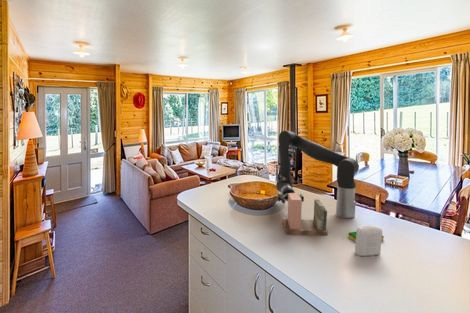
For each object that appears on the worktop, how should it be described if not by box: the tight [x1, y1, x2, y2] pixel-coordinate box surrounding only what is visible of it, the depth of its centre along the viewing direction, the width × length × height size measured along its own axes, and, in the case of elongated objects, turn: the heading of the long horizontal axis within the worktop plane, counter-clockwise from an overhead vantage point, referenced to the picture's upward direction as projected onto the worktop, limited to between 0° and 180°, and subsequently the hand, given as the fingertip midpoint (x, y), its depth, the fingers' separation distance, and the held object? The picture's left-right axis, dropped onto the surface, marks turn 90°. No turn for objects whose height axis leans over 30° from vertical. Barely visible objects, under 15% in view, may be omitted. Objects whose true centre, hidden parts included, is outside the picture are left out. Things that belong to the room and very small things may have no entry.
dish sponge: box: [347, 231, 385, 243], centre depth 123 cm, size 7×14×2 cm, turn 101°
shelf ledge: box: [282, 198, 329, 236], centre depth 132 cm, size 20×14×14 cm
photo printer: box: [354, 224, 383, 257], centre depth 108 cm, size 10×4×12 cm, turn 98°
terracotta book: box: [287, 192, 303, 229], centre depth 133 cm, size 5×11×15 cm, turn 176°
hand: (292, 201), depth 140 cm, fingers open, 8 cm apart
